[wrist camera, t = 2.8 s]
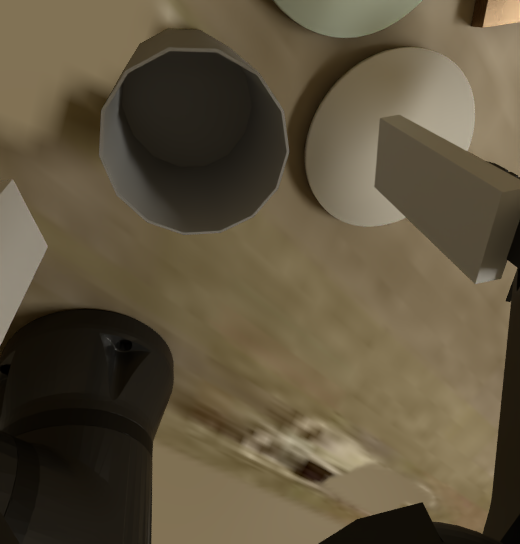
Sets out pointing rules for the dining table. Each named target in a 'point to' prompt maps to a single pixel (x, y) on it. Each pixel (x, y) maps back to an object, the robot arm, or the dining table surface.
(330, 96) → the white dome
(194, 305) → the dining table surface
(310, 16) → the dish green
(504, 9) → the balance
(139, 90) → the cup
